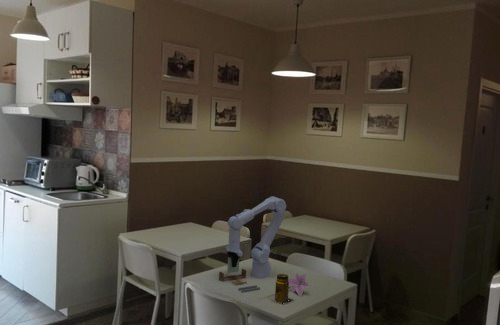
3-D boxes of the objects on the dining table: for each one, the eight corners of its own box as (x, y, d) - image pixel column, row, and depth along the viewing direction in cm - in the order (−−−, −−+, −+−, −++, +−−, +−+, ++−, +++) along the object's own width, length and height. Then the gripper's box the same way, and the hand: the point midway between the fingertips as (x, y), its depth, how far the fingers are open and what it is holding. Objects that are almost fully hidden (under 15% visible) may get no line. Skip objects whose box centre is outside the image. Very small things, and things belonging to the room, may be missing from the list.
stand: (255, 288, 224) (255, 283, 224) (264, 293, 217) (264, 288, 217) (234, 291, 218) (234, 286, 217) (242, 297, 211) (242, 292, 211)
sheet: (237, 271, 234) (238, 255, 233) (238, 271, 233) (239, 256, 232) (227, 272, 231) (228, 257, 230) (228, 273, 230) (229, 257, 229)
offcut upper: (241, 280, 229) (241, 278, 229) (246, 283, 226) (246, 281, 226) (231, 282, 226) (231, 280, 226) (237, 285, 222) (237, 283, 222)
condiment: (271, 300, 209) (272, 275, 208) (281, 295, 216) (283, 271, 215) (283, 305, 205) (285, 279, 204) (294, 300, 211) (295, 275, 210)
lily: (283, 290, 226) (281, 276, 221) (302, 278, 231) (300, 265, 226) (297, 305, 217) (295, 291, 212) (316, 293, 222) (315, 279, 216)
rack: (241, 277, 238) (241, 267, 238) (254, 286, 226) (255, 275, 226) (217, 281, 231) (217, 270, 231) (229, 290, 219) (230, 279, 219)
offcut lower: (242, 282, 230) (242, 280, 230) (247, 285, 225) (247, 283, 225) (230, 284, 226) (230, 282, 226) (235, 287, 222) (235, 285, 222)
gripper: (221, 237, 234) (219, 263, 235) (234, 244, 222) (233, 271, 223) (233, 236, 238) (231, 261, 239) (246, 243, 225) (245, 269, 227)
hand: (233, 266), depth 231 cm, fingers closed on sheet, 1 cm apart
